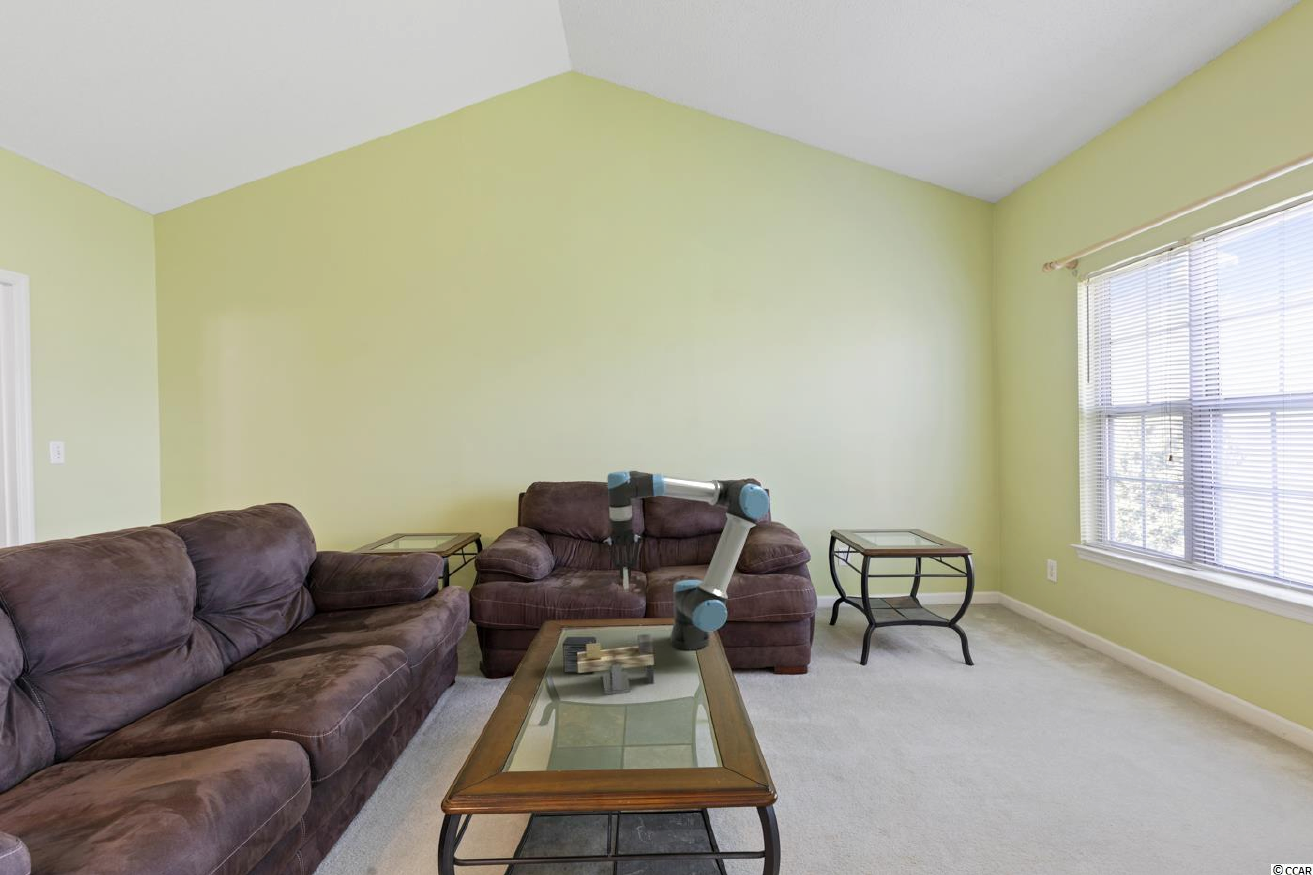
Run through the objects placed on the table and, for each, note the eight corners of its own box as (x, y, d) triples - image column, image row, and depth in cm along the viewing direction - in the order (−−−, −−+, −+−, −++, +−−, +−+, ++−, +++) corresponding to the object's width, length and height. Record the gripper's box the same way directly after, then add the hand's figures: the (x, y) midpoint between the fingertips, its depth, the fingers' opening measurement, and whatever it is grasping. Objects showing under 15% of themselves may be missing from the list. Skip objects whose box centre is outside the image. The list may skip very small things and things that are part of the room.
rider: (600, 657, 179) (600, 642, 179) (601, 663, 175) (600, 648, 175) (586, 659, 179) (586, 644, 178) (587, 665, 174) (586, 650, 174)
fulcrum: (649, 670, 186) (648, 644, 186) (655, 689, 174) (654, 661, 174) (602, 676, 184) (601, 649, 183) (604, 694, 172) (603, 666, 171)
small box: (597, 665, 192) (596, 635, 191) (593, 674, 185) (592, 644, 185) (568, 665, 193) (567, 635, 192) (563, 673, 186) (561, 643, 186)
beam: (649, 653, 184) (649, 631, 184) (654, 665, 175) (653, 643, 175) (577, 660, 181) (576, 639, 180) (578, 674, 172) (577, 651, 171)
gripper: (638, 514, 188) (643, 581, 190) (600, 518, 186) (605, 586, 187) (642, 518, 181) (647, 588, 182) (602, 522, 178) (608, 593, 180)
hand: (626, 587), depth 185 cm, fingers closed
